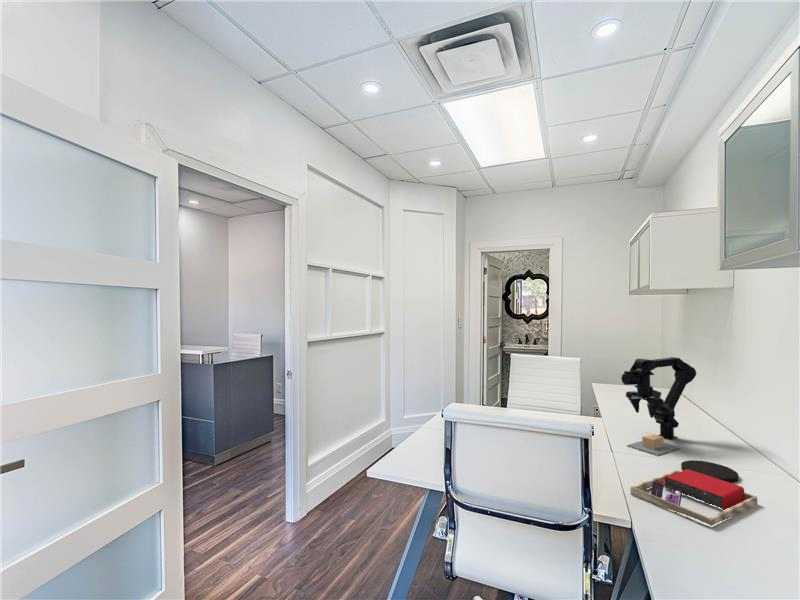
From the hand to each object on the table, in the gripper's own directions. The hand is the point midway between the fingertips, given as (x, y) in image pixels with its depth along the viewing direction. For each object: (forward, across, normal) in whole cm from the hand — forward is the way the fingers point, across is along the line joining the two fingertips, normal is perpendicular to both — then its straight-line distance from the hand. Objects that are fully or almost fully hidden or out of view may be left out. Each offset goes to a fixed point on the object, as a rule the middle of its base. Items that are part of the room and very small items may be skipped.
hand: (644, 415), depth 195 cm
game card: (+12, -59, +43) cm, 74 cm away
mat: (+12, -11, +6) cm, 18 cm away
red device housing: (+13, -55, +25) cm, 62 cm away
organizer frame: (+12, -57, +32) cm, 66 cm away
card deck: (+11, -11, +6) cm, 17 cm away
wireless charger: (+13, -40, +7) cm, 43 cm away
